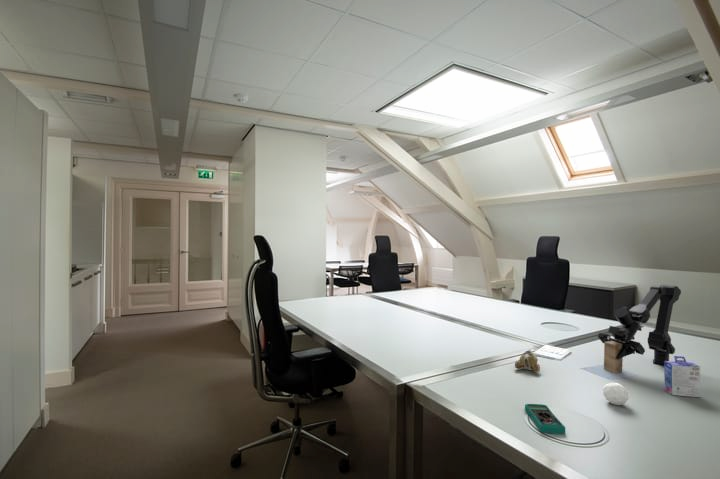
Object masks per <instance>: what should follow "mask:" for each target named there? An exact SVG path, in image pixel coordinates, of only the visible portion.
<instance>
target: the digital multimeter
mask: <svg viewBox="0 0 720 479" xmlns="http://www.w3.org/2000/svg"><path fill="white" fill-rule="evenodd" d="M524 411H525V412H526V413H527V414H528V415H529V417H530V418H531V420H532V421H533V422H534V424H535V425H536V427H537V428H538V430H539V431H540V432H541V433H545V434H551V435H552V434H556V435H563V434H564V435H565V434H566V426H565V425H564V424H563V423H562V422H561V421H560V420H559V418H557V416H556V415H555V414H554V413H553V412H552V411H551V409H550V408H549V407H548V406H547V405H546V404H538V403H526V404H525V405H524Z"/></svg>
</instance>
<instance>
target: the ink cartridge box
mask: <svg viewBox="0 0 720 479" xmlns="http://www.w3.org/2000/svg"><path fill="white" fill-rule="evenodd" d="M663 367H664V370H663V371H664V372H663V373H664V391H666V392H667V393H668V394H670V395H671V396H681V397H682V396H683V397H693V398H701V366H700V365H697V364H696V363H693V362H688V361H687V360H686V358H685V356H681V355H680V356H679V355H678V356H677V355H674V361H672V360H669V361H664V365H663Z"/></svg>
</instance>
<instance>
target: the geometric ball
mask: <svg viewBox="0 0 720 479" xmlns="http://www.w3.org/2000/svg"><path fill="white" fill-rule="evenodd" d="M602 394H603V396H604V398H605V400H606V401H607V402H609V403H611V404H612V405H615V406H621V405H622V406H623V405H625V404H626V403H627V402H628V401H629V398H630V397H629V392H628V391H627V389H626V388H625V386H623V385H622V384H620V383H618V382H609V383H607V384H605V385H604V386H603V388H602Z"/></svg>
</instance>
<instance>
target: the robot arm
mask: <svg viewBox="0 0 720 479" xmlns="http://www.w3.org/2000/svg"><path fill="white" fill-rule="evenodd" d="M681 294H682V290H681V289H680V288H679V287H678V285H670V284H660V285H652V286H650V287H649V291H648V292H647V293H646V295H645V296H644V297H643V298H642V300H641V301H640V303H639V304H637V305H634V306H632V307H631V308H630V309H629V308H628V307H626V306H622V307H621V308H617V309H616V310H614V311H613V316H614V317H615V318H616V320H617V321H618V322H619V324H620V325H622V326H621V328H620V327H619V326H617V327H616V326H612V325H609V326H608V327H609V328H608V331H607V333H605V332H598V334H597V335H596V337H597V338H598V339H599V340H600V341H601V343H603V344H604V343H605V342H607V341H614V342H617V343H621V344H623V345H622V349H621V350H620V352H619V353H618V355H617V357H616V358H617V359H620V358H625V357H627V356H629V355H630V356H631V355H632V354H633V355H635V354H638V355H644V354H645V352H646V349H645V347H644V346H643V345H642V343H641V342H639V341H635V339H636V338H635V335H636V334H637V332H638V331H640V332H642V330H643V329H642V327H641V325H640V324H646V323H647V322H649V319H650V317H651V310H652V309H653V308H654V306H655V305H656V304H657V302H658V301H659V307H658V312H657V317H656V322H655V323H656V324H655V327H654V330H652V331H649V332H648V337H647V345H648V350H654V352H653V353H654V354H653V359H652V363H653V365H654V364H655V365H660V366H661V365H662V366H664V361H670V355H674V354H675V352H676V348H675V346H674V345H673V344H672V338H671V336H670V334H669V328H670V322H671V318H672V317H671V316H672V314H673V313H672V312H673V306H674V304H675V303H676V302H677V301H679V299H680V295H681ZM608 333H610V334H611V336H612V337H611V336H610V334H608Z"/></svg>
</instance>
